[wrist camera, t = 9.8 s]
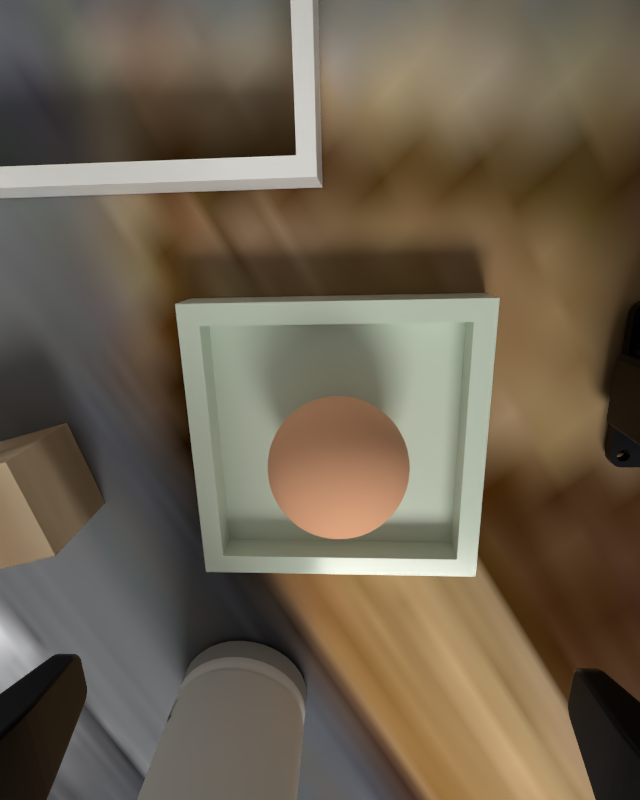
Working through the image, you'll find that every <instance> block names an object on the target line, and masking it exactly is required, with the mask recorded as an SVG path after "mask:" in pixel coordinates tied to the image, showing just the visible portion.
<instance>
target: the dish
mask: <svg viewBox="0 0 640 800" xmlns="http://www.w3.org/2000/svg"><path fill="white" fill-rule="evenodd" d="M499 300H500V298H499V297H496V296H493V295H491V294H488V293H440V294H389V295H338V296H287V297H236V298H191V299H188V300H185V301H182V302H179V303H176V304H175V309H176V317H177V326H178V335H179V343H180V352H181V360H182V369H183V378H184V386H185V395H186V404H187V412H188V421H189V430H190V438H191V447H192V456H193V464H194V473H195V482H196V490H197V499H198V508H199V516H200V525H201V533H202V542H203V551H204V559H205V568H206V572H242V573H300V574H357V575H414V576H472V577H476V566H477V554H478V543H479V531H480V520H481V508H482V497H483V485H484V474H485V462H486V450H487V439H488V427H489V416H490V404H491V393H492V381H493V370H494V358H495V347H496V335H497V324H498V312H499ZM329 396H347V397H353V398H357V399H360V400H364V401H366V402H368V403H370V404H372V405H374V406H375V407H377V408H379V409H380V410H381V411H382V412H384V413H385V414H386V415H387V416H388V417H389V418H390V419H391V420H392V421H393V422H394V424H395V425H396V426H397V428H398V429H399V431H400V433H401V435H402V437H403V439H404V441H405V444H406V447H407V451H408V456H409V463H410V472H409V481H408V485H407V489H406V492H405V495H404V497H403V499H402V501H401V503H400V505H399V507H398V508H397V510H396V511H395V512H394V513H393V515H392V516H391V517H390V518H389V519H388V520H387V521H386V522H385V523H383V524H382V525H381V526H379V527H378V528H376V529H375V530H373V531H371V532H369V533H367V534H364V535H362V536H358V537H354V538H349V539H329V538H323V537H320V536H316V535H313V534H311V533H309V532H307V531H305V530H303V529H301V528H300V527H298V526H297V525H296V524H294V523H293V522H292V521H291V520H290V519H289V518H288V517H287V516H286V515H285V514H284V513H283V511H282V510H281V509H280V507H279V505H278V504H277V502H276V500H275V498H274V496H273V493H272V491H271V488H270V484H269V478H268V457H269V450H270V447H271V444H272V441H273V439H274V437H275V434H276V432H277V431H278V429H279V428H280V426H281V424H282V423H283V422H284V421H285V420H286V419H287V417H289V416H290V415H291V414H292V413H293V412H294V411H295V410H297V409H298V408H300V407H301V406H303V405H304V404H306V403H308V402H310V401H313V400H316V399H319V398H324V397H329Z"/></svg>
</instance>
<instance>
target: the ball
mask: <svg viewBox="0 0 640 800" xmlns="http://www.w3.org/2000/svg"><path fill="white" fill-rule="evenodd" d="M409 472H410V463H409V456H408V451H407V447H406V444H405V441H404V439H403V437H402V435H401V433H400V431H399V429H398V428H397V426H396V425H395V424H394V422H393V421H392V420H391V419H390V418H389V417H388V416H387V415H386V414H385V413H384V412H382V411H381V410H380V409H379V408H377V407H375V406H374V405H372V404H370V403H368V402H366V401H364V400H360V399H357V398H353V397H347V396H329V397H324V398H319V399H316V400H313V401H310V402H308V403H306V404H304V405H303V406H301V407H300V408H298V409H297V410H295V411H294V412H293V413H292V414H291V415H290V416H289V417H287V419H286V420H285V421H284V422H283V423H282V424H281V426H280V428H279V429H278V431H277V432H276V434H275V437H274V439H273V441H272V444H271V447H270V450H269V457H268V478H269V484H270V488H271V491H272V493H273V496H274V498H275V500H276V502H277V504H278V505H279V507H280V509H281V510H282V511H283V513H284V514H285V515H286V516H287V517H288V518H289V519H290V520H291V521H292V522H293V523H294V524H296V525H297V526H298V527H300V528H301V529H303V530H305V531H307V532H309V533H311V534H313V535H316V536H320V537H323V538H329V539H349V538H354V537H358V536H362V535H364V534H367V533H369V532H371V531H373V530H375V529H376V528H378V527H379V526H381V525H382V524H383V523H385V522H386V521H387V520H388V519H389V518H390V517H391V516H392V515H393V513H394V512H395V511H396V510H397V508H398V507H399V505H400V503H401V501H402V499H403V497H404V495H405V492H406V489H407V485H408V481H409Z"/></svg>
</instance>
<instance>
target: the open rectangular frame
mask: <svg viewBox="0 0 640 800" xmlns="http://www.w3.org/2000/svg"><path fill="white" fill-rule="evenodd" d="M290 1H291V29H292V56H293V83H294V110H295V138H296V155H289V156H263V157H237V158H211V159H185V160H159V161H133V162H107V163H81V164H55V165H29V166H3V167H0V198H25V197H55V196H84V195H114V194H143V193H172V192H202V191H231V190H260V189H290V188H319V187H322V141H321V96H320V50H319V5H318V0H290Z"/></svg>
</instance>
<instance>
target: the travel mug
mask: <svg viewBox="0 0 640 800" xmlns="http://www.w3.org/2000/svg"><path fill="white" fill-rule="evenodd" d="M306 698H307V691H306V684H305V682H304V679H303V677H302V675H301V673H300V672H299V670H298V669H297V667H296V666H295V665H294V664H293V663H292V662H291V661H290V660H289V659H288V658H287V657H286V656H284V655H283V654H282V653H280V652H279V651H277V650H275V649H273V648H271V647H268V646H266V645H263V644H259V643H256V642H249V641H229V642H224V643H219V644H217V645H214V646H212V647H209V648H207V649H206V650H204V651H203V652H201V653H200V654H198V655H197V656H196V658H195V659H194V660H193V661H192V662H191V663H190V665H189V667H188V669H187V671H186V673H185V676H184V679H183V681H182V684H181V686H180V689H179V692H178V696H177V698H176V699H175V702H174V705H173V707H172V710H171V712H170V715H169V718H168V720H167V723H166V726H165V728H164V731H163V733H162V736H161V739H160V741H159V744H158V746H157V749H156V752H155V754H154V757H153V759H152V762H151V765H150V767H149V770H148V773H147V775H146V778H145V780H144V783H143V786H142V788H141V791H140V793H139V796H138V799H137V800H297V791H298V781H299V771H300V760H301V750H302V740H303V729H304V719H305V709H306Z"/></svg>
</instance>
